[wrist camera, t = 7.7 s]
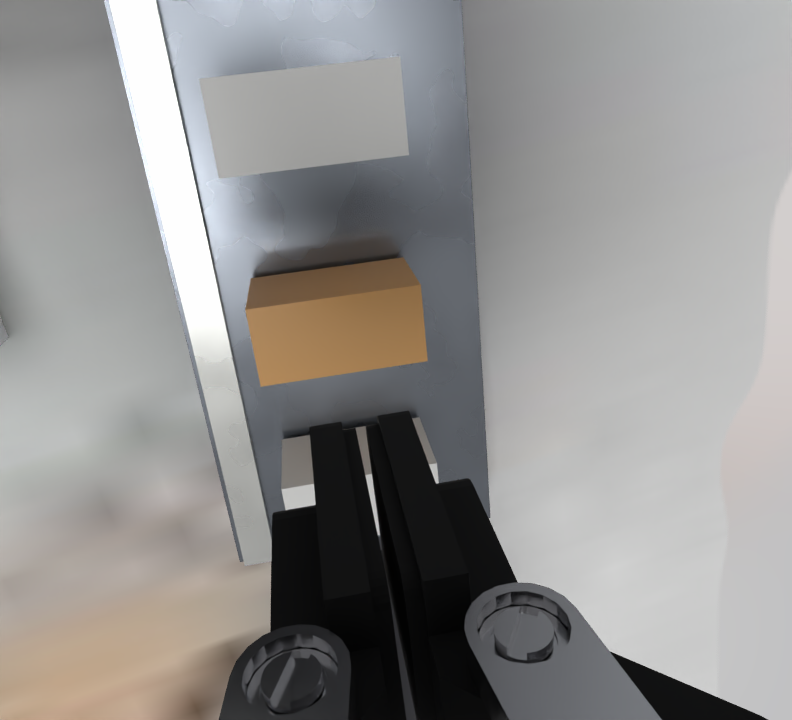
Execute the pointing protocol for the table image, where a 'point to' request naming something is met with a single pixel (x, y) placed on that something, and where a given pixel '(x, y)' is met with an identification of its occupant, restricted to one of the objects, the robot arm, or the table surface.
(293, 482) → the white rectangular block
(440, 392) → the breaker panel
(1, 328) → the bracket
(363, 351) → the block
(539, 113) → the table surface
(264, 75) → the paddle
